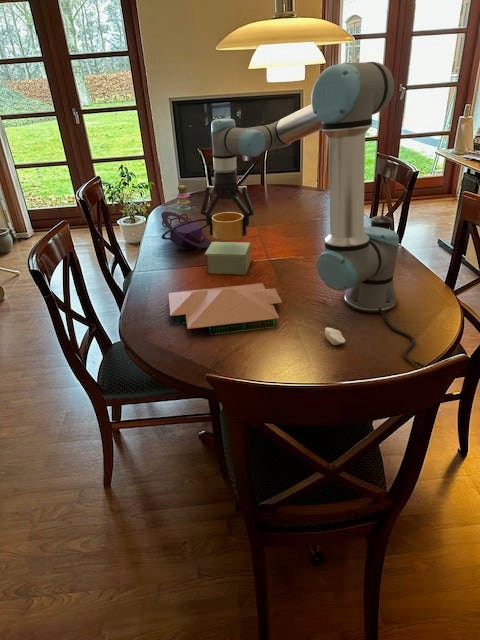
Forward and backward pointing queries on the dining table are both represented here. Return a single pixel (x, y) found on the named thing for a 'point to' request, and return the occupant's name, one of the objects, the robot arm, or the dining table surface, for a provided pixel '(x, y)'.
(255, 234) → the dining table surface
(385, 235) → the robot arm
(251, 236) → the dining table surface
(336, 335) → the white rock
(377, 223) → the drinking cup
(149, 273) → the dining table surface
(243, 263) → the chest
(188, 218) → the glasses
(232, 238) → the bowl
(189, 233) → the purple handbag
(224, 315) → the house
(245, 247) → the chest lid
